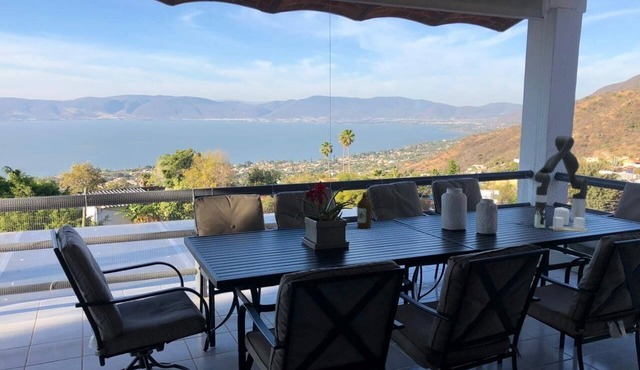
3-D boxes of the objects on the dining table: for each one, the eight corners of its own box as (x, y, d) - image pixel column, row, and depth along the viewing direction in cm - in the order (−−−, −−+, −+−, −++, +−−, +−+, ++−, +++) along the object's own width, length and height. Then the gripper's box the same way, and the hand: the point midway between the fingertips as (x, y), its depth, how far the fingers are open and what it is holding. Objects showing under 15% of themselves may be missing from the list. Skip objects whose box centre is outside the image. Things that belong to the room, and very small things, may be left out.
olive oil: (361, 225, 354) (362, 191, 351) (374, 227, 348) (375, 192, 345) (353, 228, 345) (354, 192, 342) (366, 230, 339) (367, 194, 336)
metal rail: (551, 227, 347) (551, 226, 347) (583, 228, 346) (583, 227, 346) (553, 228, 343) (553, 227, 343) (586, 229, 342) (586, 228, 342)
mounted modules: (552, 226, 348) (553, 216, 347) (580, 227, 347) (581, 217, 346) (556, 228, 342) (556, 218, 341) (584, 228, 341) (585, 218, 340)
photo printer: (552, 223, 367) (553, 207, 365) (555, 222, 370) (556, 206, 368) (566, 225, 359) (567, 208, 357) (569, 224, 362) (570, 208, 360)
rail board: (549, 227, 350) (549, 226, 350) (581, 228, 349) (581, 227, 349) (554, 230, 341) (554, 229, 340) (587, 231, 339) (588, 230, 339)
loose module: (534, 226, 355) (534, 214, 354) (542, 226, 355) (543, 214, 354) (536, 227, 351) (536, 215, 350) (544, 227, 351) (545, 215, 350)
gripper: (550, 202, 343) (549, 225, 345) (542, 199, 357) (541, 221, 359) (539, 202, 344) (537, 225, 346) (532, 199, 358) (530, 221, 360)
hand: (539, 223), depth 353 cm, fingers open, 8 cm apart
